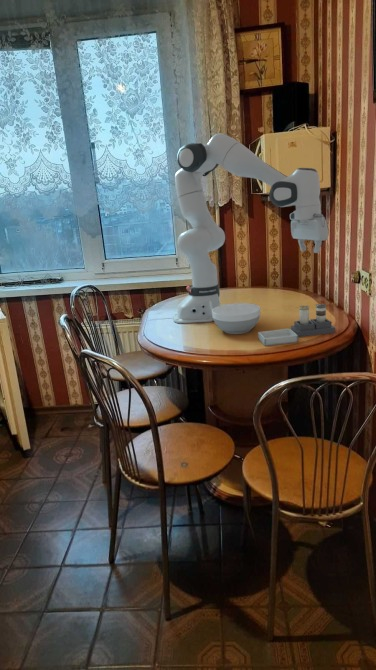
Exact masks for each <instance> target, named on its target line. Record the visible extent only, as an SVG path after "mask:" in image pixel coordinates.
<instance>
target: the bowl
mask: <svg viewBox="0 0 376 670" xmlns="http://www.w3.org/2000/svg"><path fill="white" fill-rule="evenodd" d="M212 314H213V318H214V321H213V322H214V324H215V325H216V326H217V327H218V328H219V329H220V330H222V332H224V333H226V334H229V335H242V334H247V333H249V332H250V331H251V330H252V329H253V328H255V326H256V325H257V324H258V322H259V321H260V318H261V317H260V316H261V307H260V305H257V304H254V303H251V302H250V303H249V302H235V303H234V302H232V303H226V304H220V306H217V307H215V308H214V309H213V310H212Z"/></svg>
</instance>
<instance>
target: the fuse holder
mask: <svg viewBox="0 0 376 670" xmlns="http://www.w3.org/2000/svg"><path fill="white" fill-rule="evenodd" d="M332 323H333V322H332V321H331V320H330V319H328V318H326V322H321V323H317V322H316V318H312V319H311V318H310V319H309V324H304V325H300V320H296V321H293V325H291V326H290V329H291V330H292V331H293V332H294V333H296V334H297V335H298V338H300V337H309V336H310V337H312V336H318V335H320V336H321V335H328V334H335V333H336V327H335V326H333V325H332Z"/></svg>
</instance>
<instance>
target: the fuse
mask: <svg viewBox="0 0 376 670" xmlns="http://www.w3.org/2000/svg"><path fill="white" fill-rule="evenodd" d="M298 309H299V321H300V325H304V324H309V320H310V305H300V306H299V307H298Z"/></svg>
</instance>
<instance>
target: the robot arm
mask: <svg viewBox="0 0 376 670" xmlns="http://www.w3.org/2000/svg"><path fill="white" fill-rule="evenodd" d="M176 160H177V161H176V162H177V164H178V166H179V167H180V169H178V170H177V171H176V172H175V175H174V185H175V192H176V196H177V200H178V204H179V205H178V206H179V208H180V213H181V216H182V218H183V219H184V220H185V221H187V222H189V224H190V225H191V227H192V228H190V229H187V230H185V231H183V232H182V233H180V234H179V236H178V237H177V241H176V242H177V248H178V251H179V252H180V253H181V254H182V255H184V257H185V258H186V260H187V262H188V263H189V269H190V273H191V283H192V285H191V286H189V285H187V286H186V288H185V289H186V290H187V291H188V292H187V293H188V295H187V296H186V297H185V298H184V299H182V301H180V302H179V304H178V306H177V313H175V314H173V316H172V320H173V322H174V323H176V324H193V323H207V322H209V323H210V322H215V321H214V318H213V314H212V310H213V309H214V308H215V307H217V306H220V305H221V301H220V292H221V291H220V286H219V285H220V284H219V282H218V269H217V268H218V267H217V265H216V264H215V263H214V262H213V261H212V259H211V258H210V255H209V254H210V253H211V252H214V251H217V250H218V249H220V248H221V247H222V246H223V245H224V244H225V240H226V234H225V231H224V230H223V229H222V227H220V226H219V225H218V224H217V223H216V222H215V219H214V218H213V217H212V215H211V213H210V210H209V208H208V204H207V200H206V197H205V192H204V189H203V185H202V177H207V176H208V175H209V174H211V173H212V172H213V171H214V170H216V169H217V168H218V167H219V166H220V167H221V168H223V169H224V170H226V171H227V172H228V173H230V174H232V175H235V176H237V177H240V178H251V179H256V180H259V181H261V182H263V183H264V184H266V185H268V186H269V187H270V189H269V199H270V201H271V203H272V204H273V205H274V206H275V207H280V208H285V207H286V208H287V207H295V210H293V212H291V213H290V214H289V219H290V220H291V221H290V233H291V237H292V239H296V240H297V242H298V245H299V249H300V252H307V246H306V244H305V242H306V241H313V242H314V243H313V244H315V245H314V247H313V251H312V252H313V253H314V254H318V253H320V252H321V251H320V250H321V247H322V243H323V242H322V241H327V240H328V238H329V229H328V223H327V219H326V217H325V216H324V214H322V210H321V209H322V204H321V200H320V196H321V195H320V194H321V184H320V182H321V181H320V175H319V172H318V171H317V170H316V168H311V167H298V168H296V169H295V170H294V171H293V172H292V173H291V174H289V175H288V176H287V175H285V174H284V173H282V172H281V171H279V170H277V169H276V168H274V167H272V166H271V165H269V163H267V162H265V161H264V160H263V159H261V158H260V157H259V156H258V155H256V154H255V153H254V152H253V151H251V149H249V148H248V147H246V146H245V145H244V144H243V143H241V142H239V141H238V140H237V139H235V138H234V137H232V136H229V135H227V134H225V133H221V132H220V133H215V134H214V135H212V137H211V138H210V139H209V141H208V142H207V143H206V144H205V143H202V142H201V143H200V142H199V143H198V142H195V143H194V142H190V143H187V144H185V145H183V146H181V147H180V148H179V150H178V152H177V155H176Z"/></svg>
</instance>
